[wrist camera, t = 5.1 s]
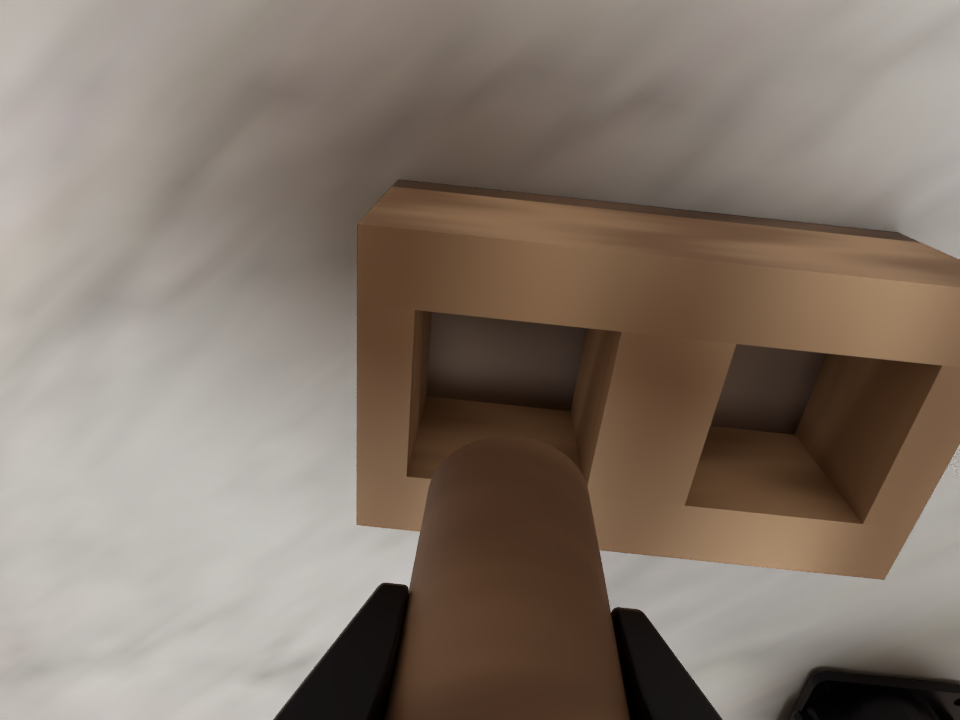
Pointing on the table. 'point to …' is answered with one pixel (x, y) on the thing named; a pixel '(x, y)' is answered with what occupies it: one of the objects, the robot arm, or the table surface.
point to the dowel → (507, 595)
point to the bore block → (662, 369)
